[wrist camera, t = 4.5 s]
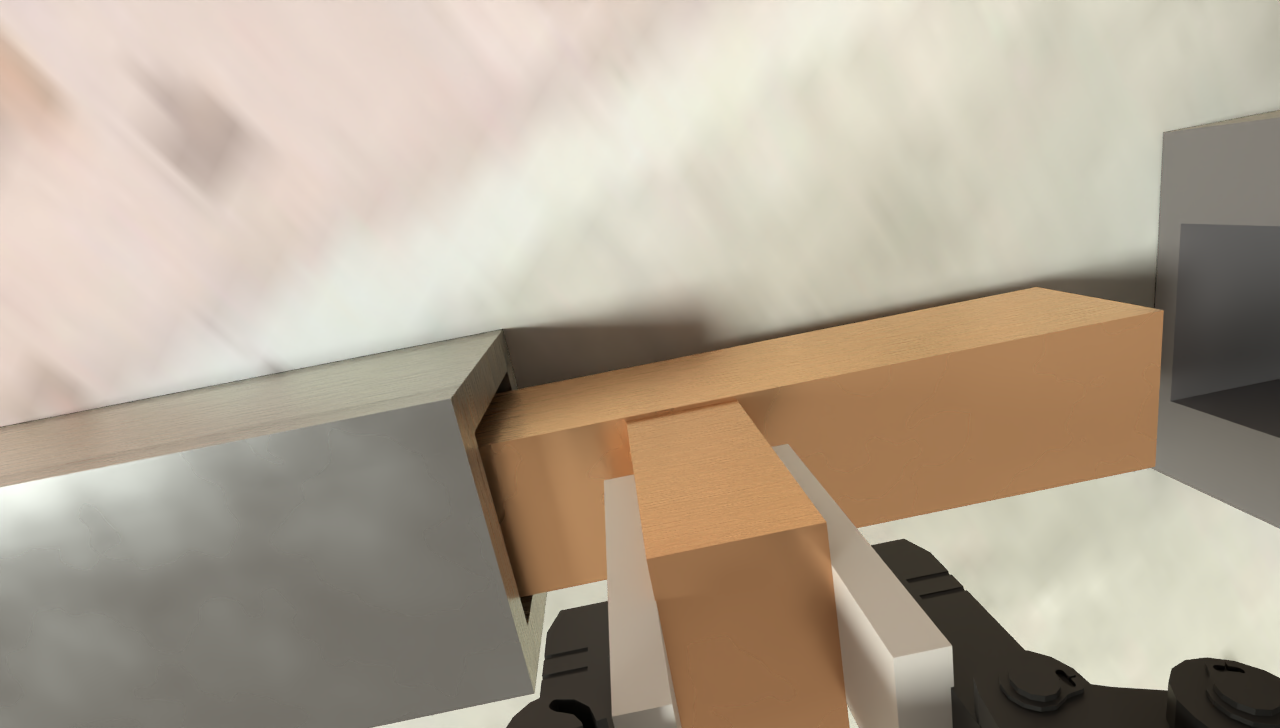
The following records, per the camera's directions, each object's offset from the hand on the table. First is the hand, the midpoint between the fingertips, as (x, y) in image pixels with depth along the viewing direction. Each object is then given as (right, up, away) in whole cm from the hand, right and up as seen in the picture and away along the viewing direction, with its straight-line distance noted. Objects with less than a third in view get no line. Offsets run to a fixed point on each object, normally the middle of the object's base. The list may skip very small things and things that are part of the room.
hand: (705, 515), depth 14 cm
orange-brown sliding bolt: (-3, +1, +6) cm, 7 cm away
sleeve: (-14, -1, +7) cm, 15 cm away
